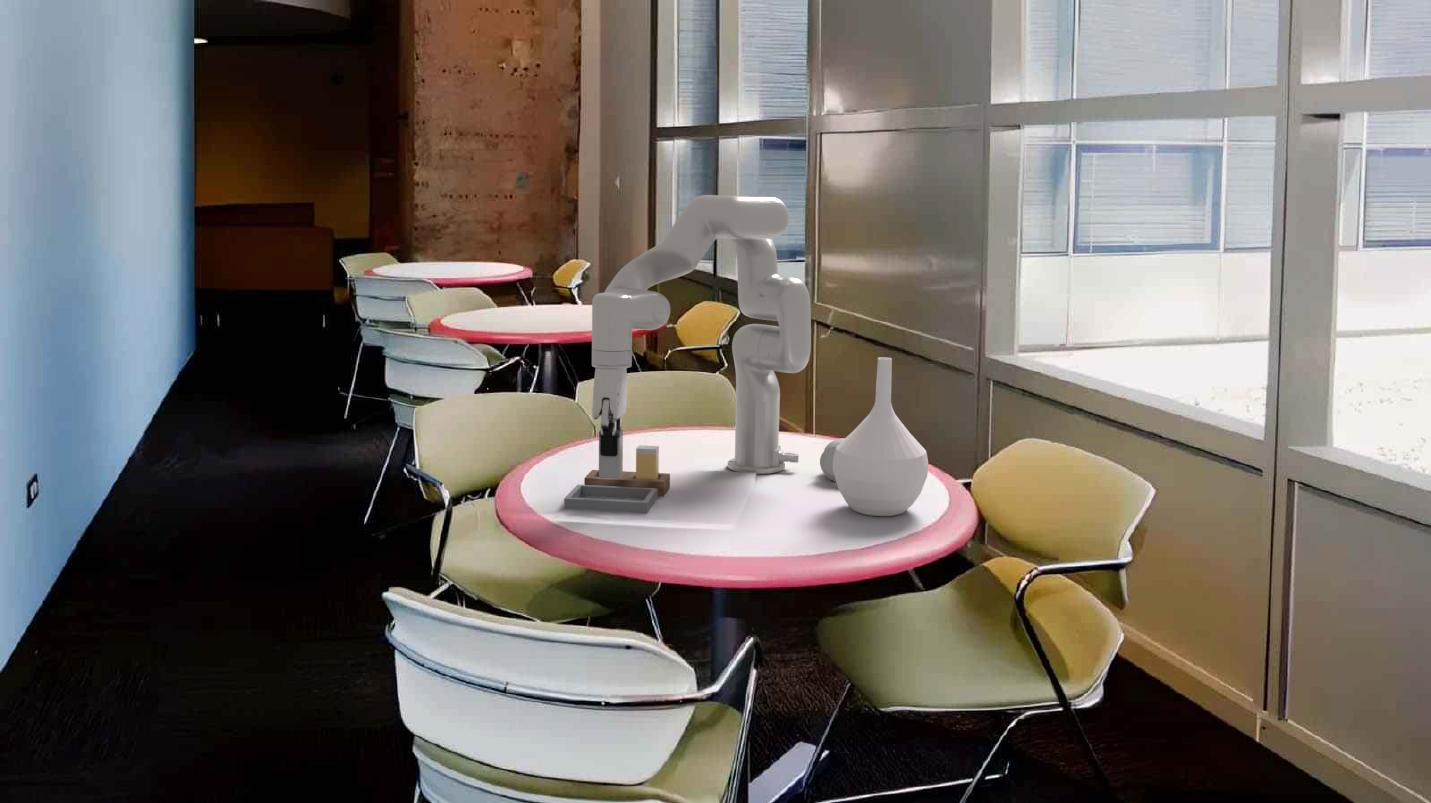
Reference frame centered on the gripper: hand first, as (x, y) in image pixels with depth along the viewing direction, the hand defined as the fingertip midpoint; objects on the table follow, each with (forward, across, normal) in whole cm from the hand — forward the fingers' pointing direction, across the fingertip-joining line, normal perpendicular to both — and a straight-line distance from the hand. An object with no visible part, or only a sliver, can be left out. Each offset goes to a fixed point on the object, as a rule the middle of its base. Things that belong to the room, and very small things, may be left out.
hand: (610, 452), depth 251 cm
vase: (+11, -9, +51) cm, 53 cm away
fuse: (+10, -11, +5) cm, 16 cm away
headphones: (+11, -34, +48) cm, 60 cm away
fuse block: (+11, -11, +1) cm, 15 cm away
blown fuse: (+5, 0, 0) cm, 5 cm away
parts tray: (+11, 0, 0) cm, 11 cm away
